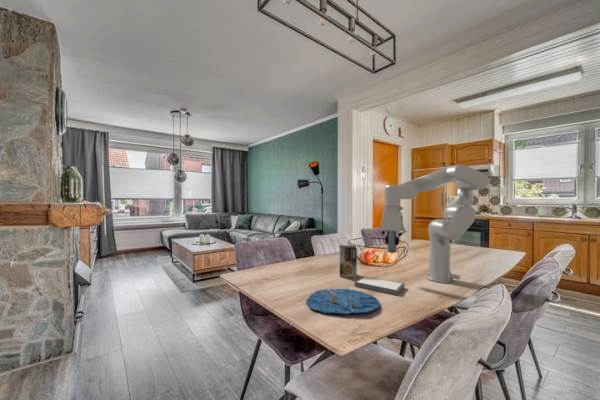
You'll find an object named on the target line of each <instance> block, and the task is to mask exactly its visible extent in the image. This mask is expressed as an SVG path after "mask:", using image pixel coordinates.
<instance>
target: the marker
mask: <svg viewBox="0 0 600 400" xmlns="http://www.w3.org/2000/svg"><path fill="white" fill-rule="evenodd" d="M395 238H396V232H395V231H388V245H387V252H388V253H393V254H394V253H397V246H396V245H395Z"/></svg>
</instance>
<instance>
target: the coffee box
mask: <svg viewBox="0 0 600 400" xmlns="http://www.w3.org/2000/svg"><path fill="white" fill-rule="evenodd" d="M357 249H358V248H357V246H356V245H345V244H344V245H343V244H342V245H341V244H340V245H339V249H338V250H339V251H338V252H339V253H338V258H339V259H338V260H339V261H338V264H339V267H338V268H339V269H338V271H339V274H338V275H339V277H340V278H357V265H358V264H357V262H358V261H357V256H358V255H357V252H358V251H357Z"/></svg>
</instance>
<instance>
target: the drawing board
mask: <svg viewBox="0 0 600 400" xmlns="http://www.w3.org/2000/svg"><path fill="white" fill-rule="evenodd" d="M354 287H355V288H360V289H365V290H369V291H374V292H375V291H376V292H379V293H383V294H389V295H393V296H399V295H400V294H401V293H402V292H403V291H404V289H405V283H402V282H398V281H397V282H396V281H393V280H392V281H391V280H387V279H382V278H377V277H376V278H375V277H372V276H371V277H370V276H365V275H364V276H362V277H361V278H359V279H358V280H356V281H354Z"/></svg>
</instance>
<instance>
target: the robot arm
mask: <svg viewBox="0 0 600 400" xmlns="http://www.w3.org/2000/svg"><path fill="white" fill-rule="evenodd" d="M454 182H455V187H456V196H455V197H454V199H453V200H452V201H451V202H449V204H448V206H446V208H445V209H444V210H443V212H442V217H443V218H444V219H442V218H441V219H440V218H438V219H436V218H435V219H434V220H432V221H430V223H429V224H428V227H427V229H428V237H429V273H427V274H426V275H425V277H426V279H427V280H430V281H432V282H436V283H444V284H446V283H447V284H448V283H449V284H450V283H453V282H454V279H455V280H461V275H458V274H456V273H455V274H453V273H452V271H451V242H450V241H456V240H458V239H460V238H461V237H462V236H463V235H464V234H465V233H466V231H467V230H469V228H470V227H471V226H472V224H474V222H475V220H476V218H477V212H476V209H475V208H474V207H473V206H472V205H473V203H474V201H475V198H474V192H473V191H479V190H484V189H486V188H488V186H489V183H490V180H489V177H488V176H487V175H486V173H484V172H482V171H479V170H478V169H474V168H473V167H470V166H468V165H465V164H460V163H459V164H454V165H447V166H445V167H442V168H439V169H438V170H435V171H433V172H430V173H428V174H425V175H421V176H420V177H417V178H413V179H411V180H408V181H406V182H403V183H400V184H398V185H397V184H387V185H385V186H384V211H383V212H382V218H381V225H380V227H379V228H378V229H377V230H378V232H380V233H382V235H383V236H384V243H385V245H387V246H388V231H395V232H396V238H395V245H396V247H397V246H399V244H400V237H401V236H403V235H405V234H406V233H407V229H406V228H405V226H404V216H403V212H402V211H403V210H404V207H403V206H401V200H413V199H415V198H416V197H417V196H418V193H421V192H429V191H432V190H433V191H434V190H435V189H438V188H441V187H442V186H446V185H448V184H450V183H454Z"/></svg>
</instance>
